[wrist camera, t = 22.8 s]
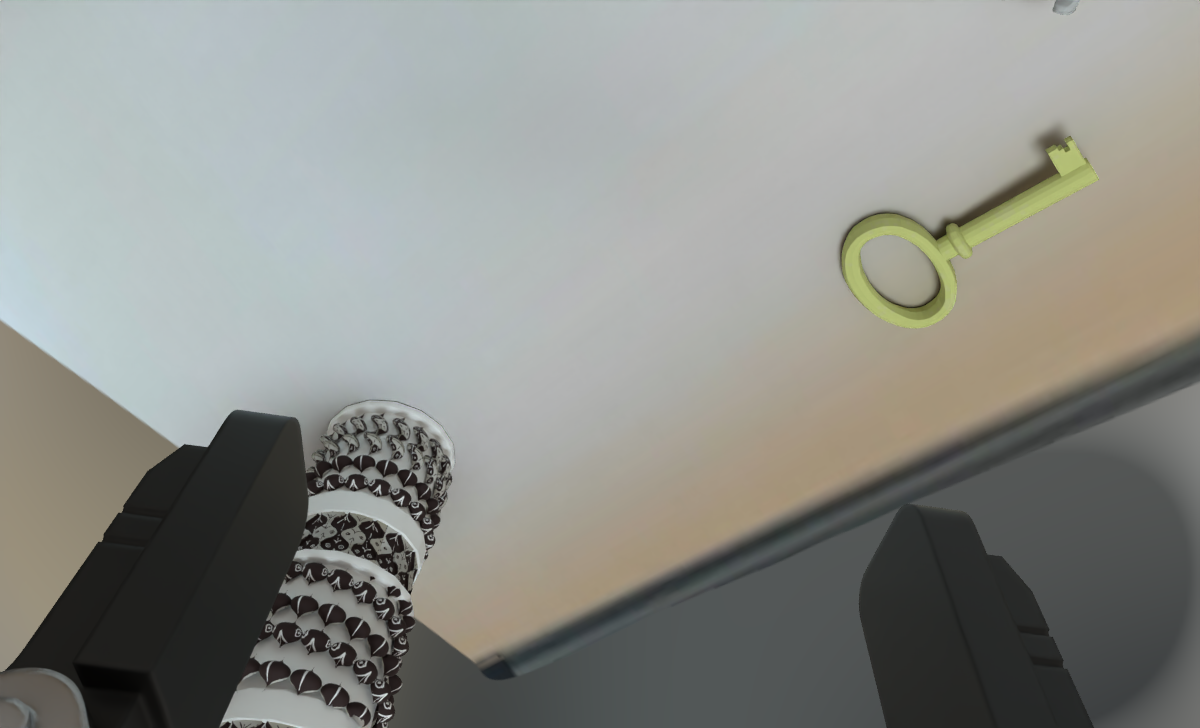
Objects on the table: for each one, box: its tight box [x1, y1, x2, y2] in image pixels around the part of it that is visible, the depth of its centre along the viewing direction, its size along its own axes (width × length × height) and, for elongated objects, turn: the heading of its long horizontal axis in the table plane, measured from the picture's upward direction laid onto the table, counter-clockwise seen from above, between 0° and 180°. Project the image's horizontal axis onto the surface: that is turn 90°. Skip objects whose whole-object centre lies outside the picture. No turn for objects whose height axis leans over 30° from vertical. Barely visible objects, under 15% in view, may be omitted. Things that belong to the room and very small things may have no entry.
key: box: [842, 136, 1099, 328], centre depth 40 cm, size 7×12×2 cm, turn 150°
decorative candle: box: [219, 400, 455, 728], centre depth 42 cm, size 9×9×25 cm
